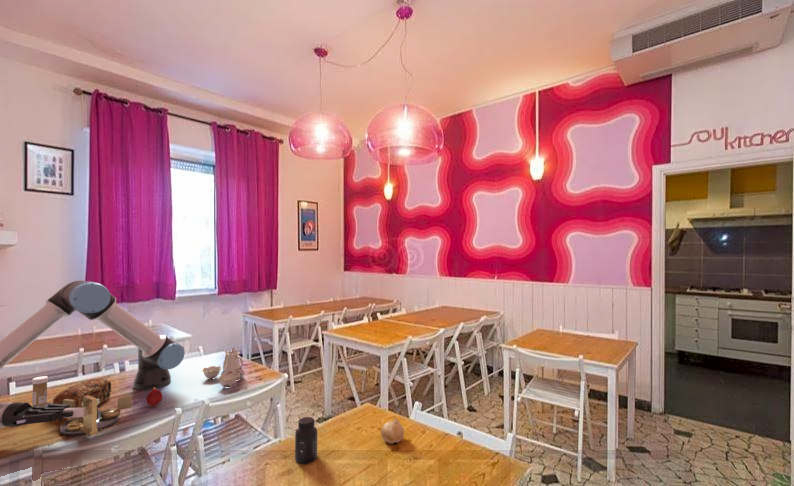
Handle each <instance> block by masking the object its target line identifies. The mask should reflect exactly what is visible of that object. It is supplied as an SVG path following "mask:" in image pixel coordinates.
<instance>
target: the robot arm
mask: <svg viewBox="0 0 794 486" xmlns="http://www.w3.org/2000/svg"><path fill="white" fill-rule="evenodd" d="M75 312H78V313H79V314H81V315H82V316H84V317H86V318H87V319H89V321H94V320H95V321H96V320H98V322H100V323H102V324H104V326H106V327H108V328H109V329H110V330H112V331H113V332H114V333H116V334H118V335H119V336H120V337H122V338H123V339H124V340H126V341H127V342H129V343H130V344H132V345H133V346H135V347H136V348H137V351H138V352H137V353H138V354H137V355H138V356H137V360H138V361H137V367H138V368H137V372H136V374H135V377H134V380H133V384H132V385H133V387H132V388H133V389H135V390H143V391H144V390H153V388H154V387H155V388H156V389H157V388H160V387H164V386H166V385H169V384H170V383H171V381H172V379H171V378H172V376H171V373H170V371H169V370H172V369H175V368H176V367H178V366H179V365H180V364H181V363H182V361H183V360H184V357H185V349H184V347H183V346H182V345H181V344H180V343H178V342H175V341H173V340H172V339H171V338H169V337H168V336H167V334H157V333H156V332H155V331H154V330H152V329H151V328H150V327H149V326H147V325H145V324H144V323H143V322H142V321H140V320H139V319H138V318H136V317H135V316H134V315H133V314H131V313H129V312H128V311H127V310H125V308H123V307H121V305H119V304H118V303H117V297H116V296H114V295H113V294H112V293H110V291H109V289H108V288H107V287H106V286H105V285H103V284H101V283H98V282H95V281H86V280H75V281H72V282H69V283H67V284H66V285H64V286H63V287H62V288H60V289H59V290H58V291H56V293H54V294H53V295H52V296H50V298H48V299H46V301H45V305H44V306H42V307H41V308H40V309H39V310H37V311H36V312H35V313H34V314H33V315H31V316H30V317H29V318H27V319H26V320H25V321H24V322H22V323H21V324H20V325H18V326H17V327H16V328H15V329H14V330H12V331H11V332H10V333H8V334H7V335H6V336H5V337H4V338H3V339H1V340H0V370H2V369H3V368H4V367H5V366H6V365H8V364H9V363H10V362H11V361H12V360H14V359H15V358H16V357H17V356H19V354H21V353H22V352H23V351H25V350H26V348H28V347H29V346H30V345H31V344H32V343H34V342H35V341H36V340H38V339H39V338H41V336H43V335H44V334H45V333H46V332H47V331H49V329H51V328H52V327H53V326H54V325H56V324H57V323H58V322H59V321H60V320H62V319H63V318H66V317H69V316H70V315H72V314H73V313H75ZM86 415H87V407H82V408H70V405H63V404H53V402H47V404H46V406H33V405H31V404H30V403H29V402H27V401H26V402H25V401H21V402H20V401H17V402H16V401H15V402H0V429H2V428H3V427H4V428H5V427H6V428H8V427H9V428H11V427H12V428H14V427H21V426H25V425H33V424H40V423H48V422H49V423H50V422H51V423H52V422H56V420H57V421H58V422H60V421H63V418H64V419H67V418H72V417H85V416H86Z"/></svg>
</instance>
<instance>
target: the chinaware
mask: <svg viewBox="0 0 794 486" xmlns="http://www.w3.org/2000/svg"><path fill="white" fill-rule="evenodd" d="M224 353H225V357H224V361H223V364H222V365H223V366H222V367H221V366H220V365H219V366H215V365H211V366H209V367H204V368H203V369H202V372H203V374H204V377H205V378H207V379H213V378H217V380H218V381H219V384H220V386H221V387H223V388H224V387H230V388H229V389H232V388H235V387H236V384H237V382H235V381H236V380H239V379H241V378H242V379H243V377H245V376H244V375H245V371H244V370H243V367H244V361H243V358H242V357H241V356H240V353H241V352H240V351H237V350H236V349H235V347H233V346H232V348H231V350H229V351H228V350H224ZM221 369H222V371H221ZM220 372H221V373H220ZM219 375H220V376H219ZM218 376H219V377H218ZM242 379H241V380H242Z"/></svg>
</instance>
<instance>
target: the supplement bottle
mask: <svg viewBox="0 0 794 486" xmlns="http://www.w3.org/2000/svg"><path fill="white" fill-rule="evenodd" d="M317 458H318V428H317V427H316V426H315V419H314V417H310V416H305V417H302V418H299V419H298V428H297V429H296V430H295V433H294V459H295V462H296V463H297V464H301V465H307V464H310V463H313V462H314V461H316V459H317Z"/></svg>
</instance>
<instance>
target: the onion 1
mask: <svg viewBox="0 0 794 486" xmlns="http://www.w3.org/2000/svg"><path fill="white" fill-rule="evenodd" d="M162 400H163V393H162V391H161V390H159V389H157V388H155V387H154V388H153V389H151V390H150V391H149V392H148V393H147V395H146V397H145V402H146V404H147V405H149V406H150V407H152V408H155V407H157V406H158V405H159V404H160V403H161V402H162Z"/></svg>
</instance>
